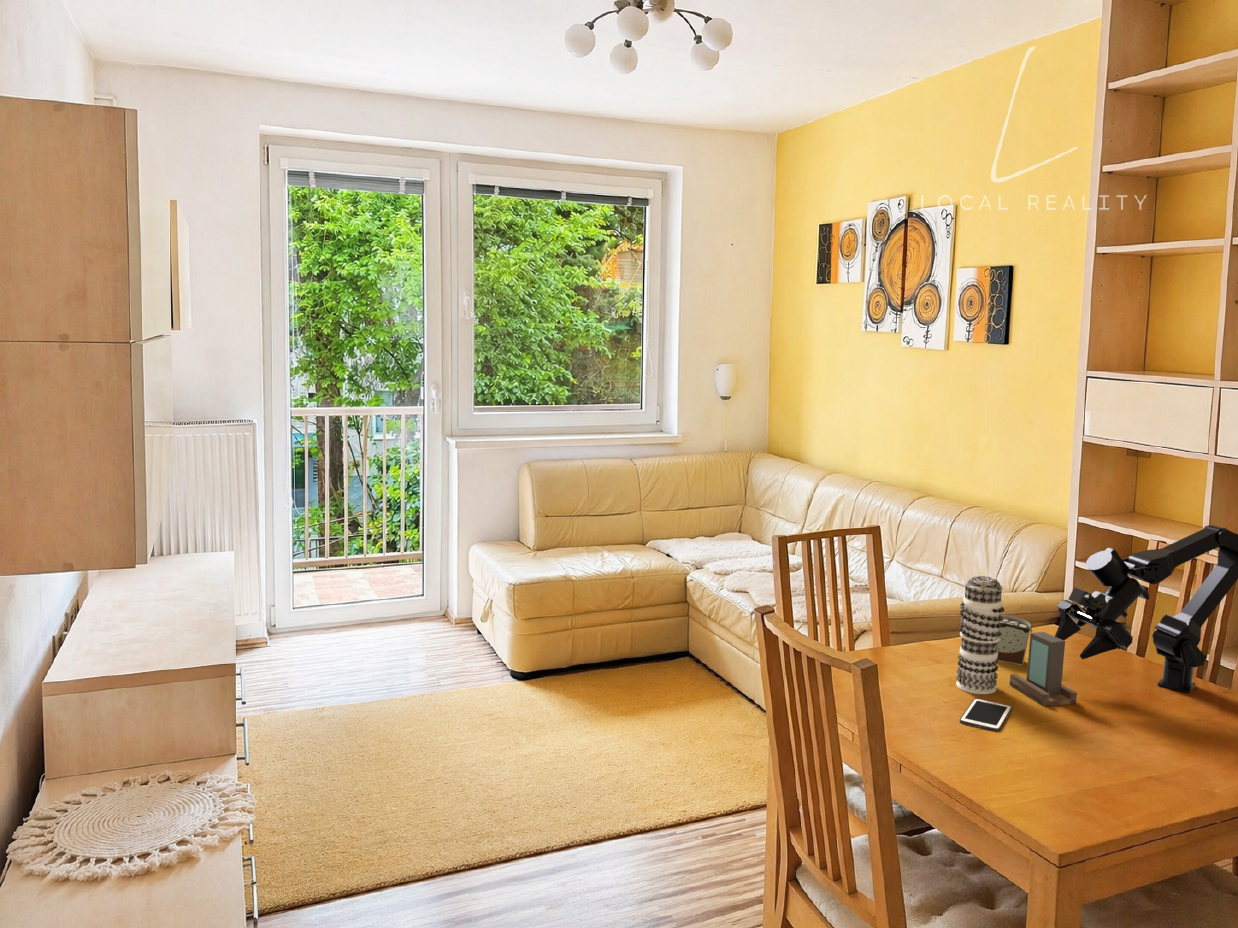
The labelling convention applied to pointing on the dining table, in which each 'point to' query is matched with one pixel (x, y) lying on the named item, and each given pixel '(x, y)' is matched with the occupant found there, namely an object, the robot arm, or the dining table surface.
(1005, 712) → the cell phone
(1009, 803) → the dining table surface
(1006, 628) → the food container
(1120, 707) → the dining table surface
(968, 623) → the decorative candle
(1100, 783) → the dining table surface
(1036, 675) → the grey rectangular box
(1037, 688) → the tray
